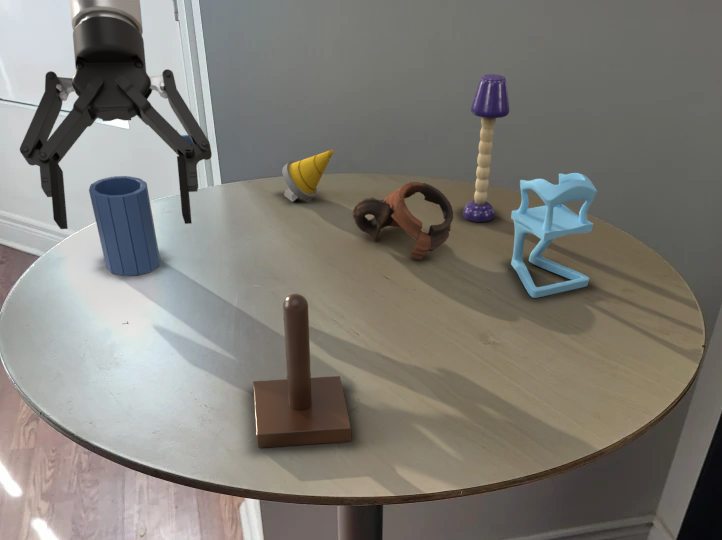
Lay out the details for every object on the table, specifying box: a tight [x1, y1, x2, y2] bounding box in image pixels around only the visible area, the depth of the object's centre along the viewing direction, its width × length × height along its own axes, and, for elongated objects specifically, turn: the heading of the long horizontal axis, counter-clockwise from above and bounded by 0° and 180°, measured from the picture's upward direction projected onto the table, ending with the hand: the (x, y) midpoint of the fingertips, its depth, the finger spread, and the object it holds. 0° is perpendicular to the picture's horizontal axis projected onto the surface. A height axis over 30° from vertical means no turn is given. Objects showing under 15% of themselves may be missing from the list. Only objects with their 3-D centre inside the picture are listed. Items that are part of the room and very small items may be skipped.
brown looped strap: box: [352, 181, 454, 261], centre depth 94 cm, size 12×10×8 cm
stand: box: [252, 293, 352, 449], centre depth 66 cm, size 8×8×12 cm
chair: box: [510, 172, 598, 299], centre depth 87 cm, size 8×8×12 cm
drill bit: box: [281, 149, 335, 203], centre depth 104 cm, size 5×5×10 cm
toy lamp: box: [462, 73, 510, 223], centre depth 98 cm, size 5×5×17 cm
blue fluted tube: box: [88, 175, 161, 277], centre depth 88 cm, size 6×6×9 cm
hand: (124, 221), depth 86 cm, fingers open, 13 cm apart
